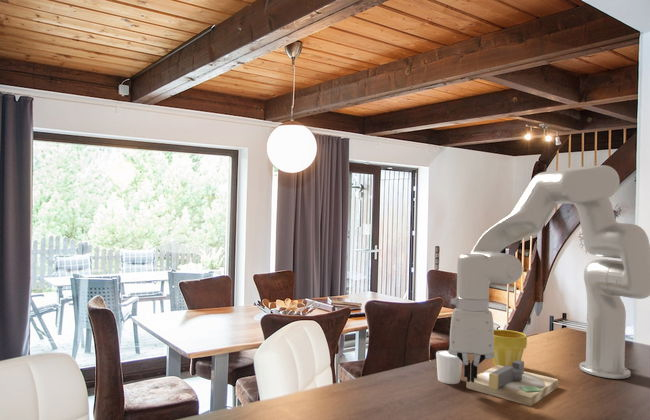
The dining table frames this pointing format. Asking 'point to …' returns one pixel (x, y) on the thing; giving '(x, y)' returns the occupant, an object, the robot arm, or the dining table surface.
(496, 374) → the grey dial pointer
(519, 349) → the plant pot
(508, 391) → the tuner board
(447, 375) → the white cup
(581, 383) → the dining table surface
